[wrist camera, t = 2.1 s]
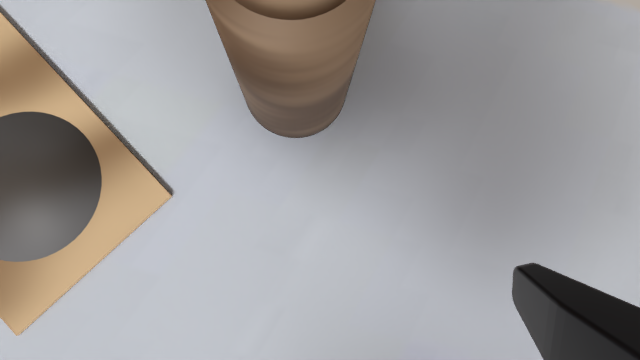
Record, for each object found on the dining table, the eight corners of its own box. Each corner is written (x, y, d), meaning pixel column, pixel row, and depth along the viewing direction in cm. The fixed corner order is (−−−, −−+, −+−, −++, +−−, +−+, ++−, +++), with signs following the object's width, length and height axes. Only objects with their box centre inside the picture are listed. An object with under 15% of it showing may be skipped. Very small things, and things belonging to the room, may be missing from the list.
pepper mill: (365, 78, 22) (446, -123, 10) (306, 158, 22) (313, 49, 9) (284, 21, 23) (264, -246, 10) (223, 98, 22) (122, -87, 10)
